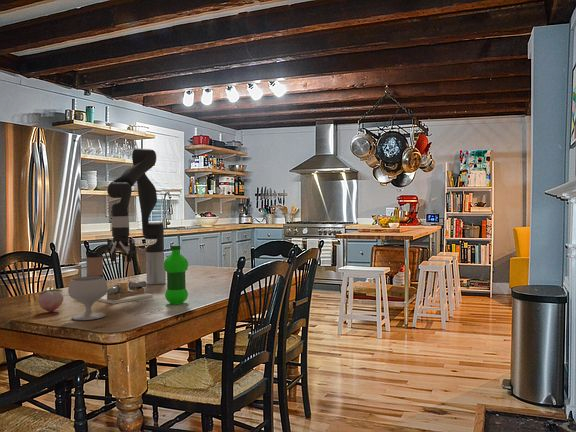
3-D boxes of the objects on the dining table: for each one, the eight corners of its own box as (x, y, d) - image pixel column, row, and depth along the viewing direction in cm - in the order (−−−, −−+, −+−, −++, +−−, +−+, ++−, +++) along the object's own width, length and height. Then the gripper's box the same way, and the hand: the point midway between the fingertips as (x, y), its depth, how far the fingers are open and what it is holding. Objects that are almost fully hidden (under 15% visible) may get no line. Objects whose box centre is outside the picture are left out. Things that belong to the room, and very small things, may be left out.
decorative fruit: (56, 308, 217) (56, 284, 216) (66, 311, 211) (66, 286, 211) (33, 312, 209) (33, 287, 209) (43, 315, 204) (43, 289, 204)
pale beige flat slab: (130, 293, 253) (130, 287, 253) (152, 297, 241) (152, 291, 241) (92, 299, 238) (92, 293, 238) (113, 303, 226) (113, 297, 226)
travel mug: (106, 291, 261) (105, 251, 260) (99, 293, 253) (98, 252, 253) (91, 291, 261) (90, 251, 261) (84, 293, 254) (83, 252, 253)
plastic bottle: (165, 306, 218) (164, 246, 217) (164, 302, 228) (163, 244, 228) (189, 304, 221) (188, 245, 220) (187, 300, 231) (186, 244, 230)
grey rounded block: (113, 297, 235) (112, 284, 235) (123, 297, 235) (123, 284, 234) (105, 300, 227) (104, 287, 227) (116, 300, 227) (115, 287, 226)
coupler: (124, 294, 243) (123, 281, 243) (130, 295, 240) (130, 282, 240) (114, 295, 239) (114, 282, 239) (120, 296, 236) (120, 283, 236)
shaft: (142, 291, 250) (141, 279, 250) (148, 292, 247) (147, 280, 247) (127, 293, 244) (126, 281, 244) (133, 294, 241) (132, 282, 241)
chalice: (112, 313, 206) (112, 275, 205) (101, 321, 192) (100, 280, 191) (76, 314, 205) (75, 276, 205) (62, 322, 191) (61, 281, 191)
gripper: (102, 226, 238) (103, 262, 238) (127, 226, 232) (128, 263, 233) (114, 225, 245) (115, 260, 245) (138, 225, 239) (139, 261, 240)
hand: (121, 261), depth 239 cm, fingers open, 8 cm apart
